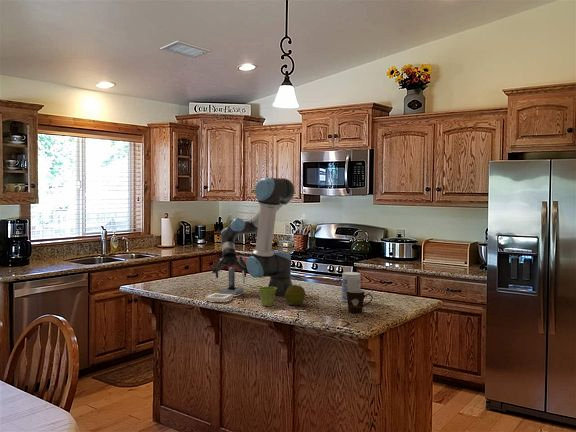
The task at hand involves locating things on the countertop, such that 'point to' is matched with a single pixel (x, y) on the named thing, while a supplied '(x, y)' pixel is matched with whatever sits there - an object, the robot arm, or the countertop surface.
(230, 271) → the rod
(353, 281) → the supplement tub
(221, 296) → the block
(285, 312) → the countertop surface
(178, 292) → the countertop surface
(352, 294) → the coffee mug
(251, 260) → the robot arm
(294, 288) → the apple
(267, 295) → the plant pot
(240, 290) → the socket block
